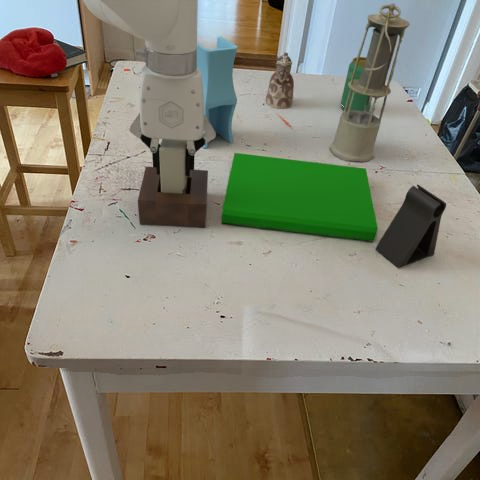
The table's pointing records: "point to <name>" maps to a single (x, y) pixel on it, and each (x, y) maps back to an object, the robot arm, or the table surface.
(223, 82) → the vase
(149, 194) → the brown frame
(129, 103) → the table surface
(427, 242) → the phone stand
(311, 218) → the book
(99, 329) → the table surface
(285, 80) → the figurine
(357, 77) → the beverage can
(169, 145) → the box
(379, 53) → the lamp
